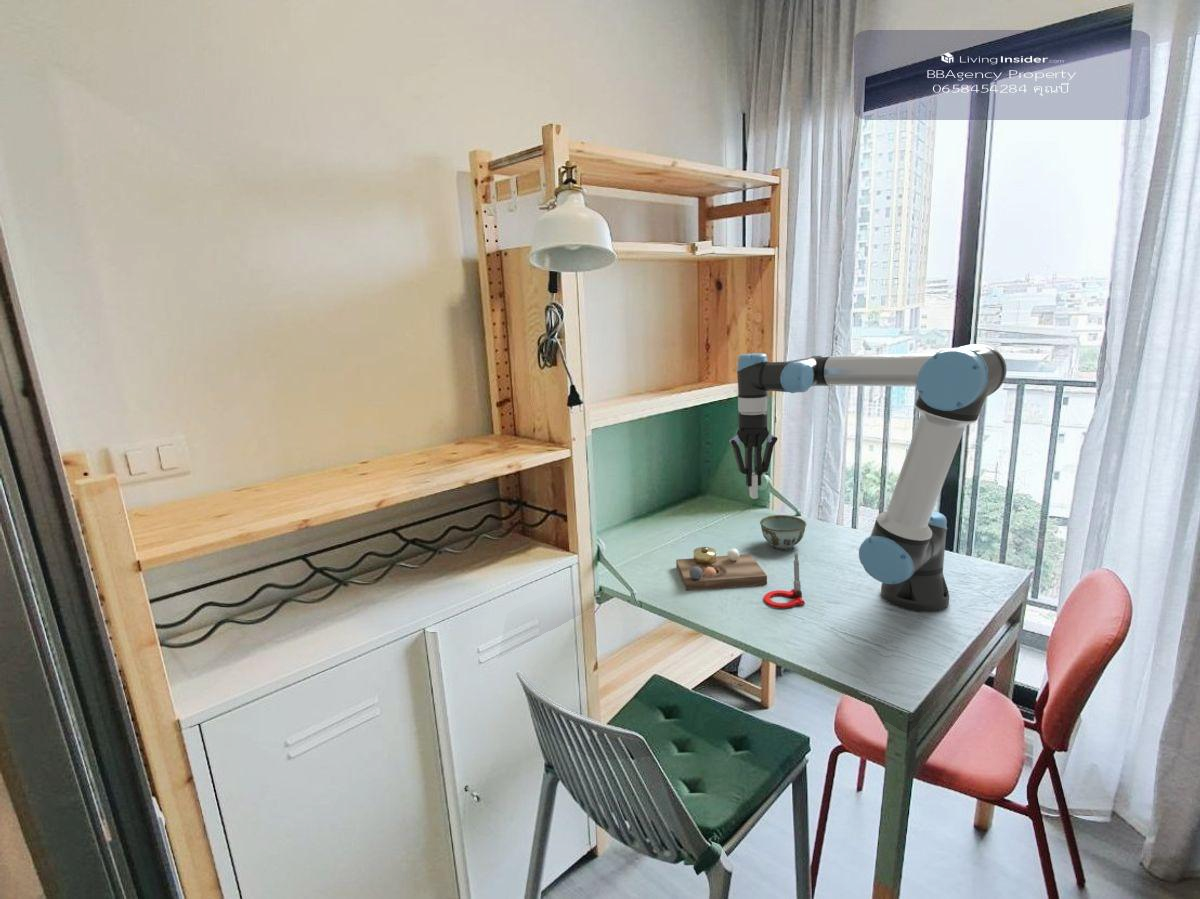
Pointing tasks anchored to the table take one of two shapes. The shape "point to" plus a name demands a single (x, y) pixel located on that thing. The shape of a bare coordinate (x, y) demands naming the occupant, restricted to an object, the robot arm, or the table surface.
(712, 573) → the ball
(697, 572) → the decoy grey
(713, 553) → the cover
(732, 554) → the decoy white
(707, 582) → the brown wooden flat board
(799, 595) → the tow hook
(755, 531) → the table surface
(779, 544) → the bowl
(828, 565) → the table surface
